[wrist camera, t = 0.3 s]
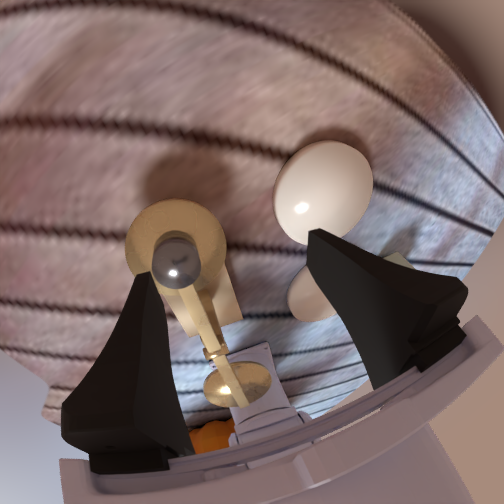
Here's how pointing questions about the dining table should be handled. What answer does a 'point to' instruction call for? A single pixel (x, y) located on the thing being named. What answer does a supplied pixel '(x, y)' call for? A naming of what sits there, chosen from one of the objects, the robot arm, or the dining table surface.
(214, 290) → the balance stand
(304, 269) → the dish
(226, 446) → the decorative pumpkin
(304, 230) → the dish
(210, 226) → the balance beam
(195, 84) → the dining table surface
